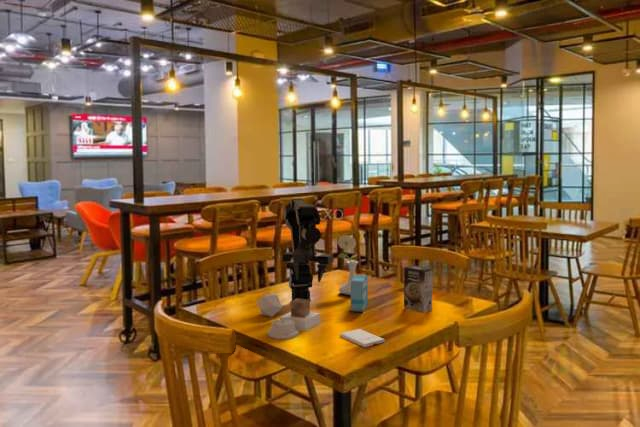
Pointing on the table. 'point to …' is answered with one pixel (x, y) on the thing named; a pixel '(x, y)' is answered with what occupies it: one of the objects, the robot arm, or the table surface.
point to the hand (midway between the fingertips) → (307, 280)
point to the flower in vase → (347, 244)
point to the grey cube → (300, 307)
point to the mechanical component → (283, 329)
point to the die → (269, 304)
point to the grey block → (303, 320)
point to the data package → (359, 293)
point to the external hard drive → (362, 337)
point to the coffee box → (418, 288)
